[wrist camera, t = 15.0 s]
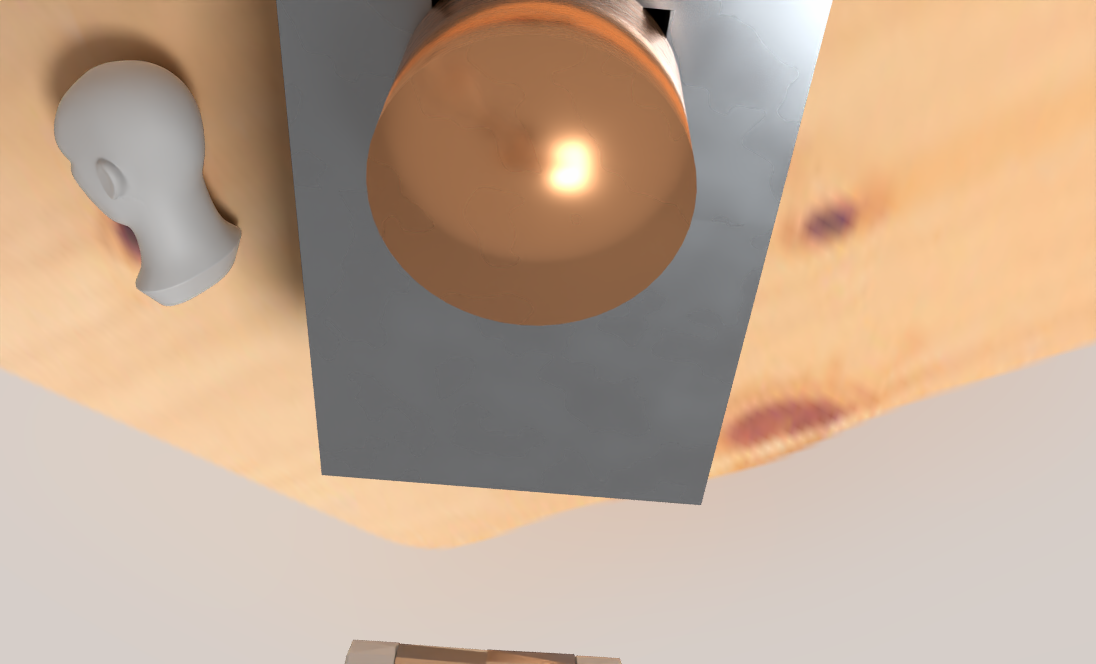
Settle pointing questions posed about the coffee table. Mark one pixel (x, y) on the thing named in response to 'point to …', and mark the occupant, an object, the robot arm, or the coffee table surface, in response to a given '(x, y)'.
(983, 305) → the coffee table surface
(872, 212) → the coffee table surface
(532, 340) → the block
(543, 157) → the pin
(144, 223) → the mannequin head
